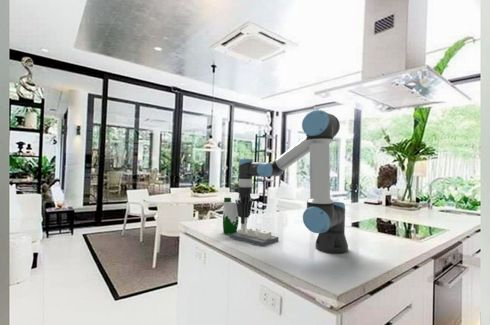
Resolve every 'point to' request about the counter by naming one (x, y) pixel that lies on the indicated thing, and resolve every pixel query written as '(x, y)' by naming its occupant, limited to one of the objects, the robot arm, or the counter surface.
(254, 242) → the keypad board
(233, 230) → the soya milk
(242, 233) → the key three
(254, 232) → the key two
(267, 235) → the key one
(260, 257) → the counter surface
